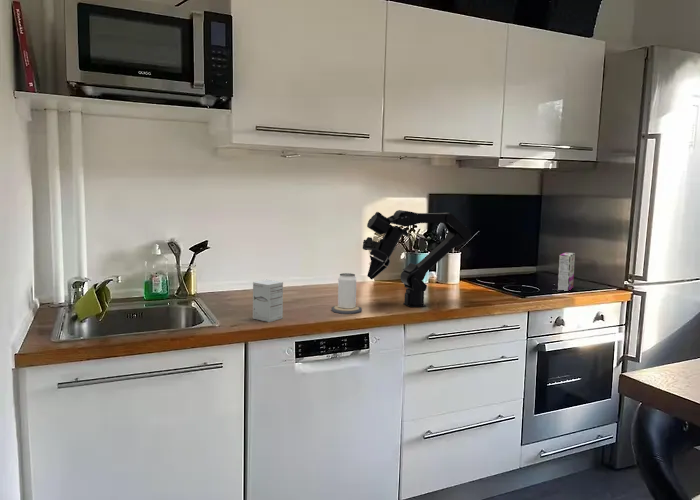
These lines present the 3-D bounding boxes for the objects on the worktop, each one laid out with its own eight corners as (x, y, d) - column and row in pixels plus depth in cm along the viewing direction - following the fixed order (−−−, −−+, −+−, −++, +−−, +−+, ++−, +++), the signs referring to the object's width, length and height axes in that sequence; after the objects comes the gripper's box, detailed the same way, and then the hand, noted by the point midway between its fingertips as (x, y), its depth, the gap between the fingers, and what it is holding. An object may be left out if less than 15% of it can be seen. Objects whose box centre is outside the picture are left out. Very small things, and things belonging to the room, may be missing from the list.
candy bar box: (561, 287, 261) (564, 252, 259) (573, 288, 258) (575, 253, 256) (556, 291, 252) (558, 254, 250) (568, 292, 249) (570, 255, 247)
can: (341, 304, 210) (342, 272, 209) (358, 306, 208) (358, 273, 207) (335, 308, 204) (335, 275, 203) (352, 309, 202) (352, 276, 201)
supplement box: (251, 319, 190) (251, 281, 189) (266, 315, 196) (267, 279, 195) (268, 322, 186) (268, 284, 185) (283, 318, 192) (283, 281, 191)
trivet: (354, 306, 213) (354, 303, 213) (366, 312, 203) (366, 309, 203) (327, 308, 209) (327, 305, 209) (338, 315, 199) (338, 311, 198)
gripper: (373, 234, 221) (353, 270, 220) (368, 226, 203) (347, 264, 202) (398, 248, 219) (379, 283, 218) (396, 241, 201) (374, 279, 200)
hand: (369, 278), depth 210 cm, fingers open, 9 cm apart
